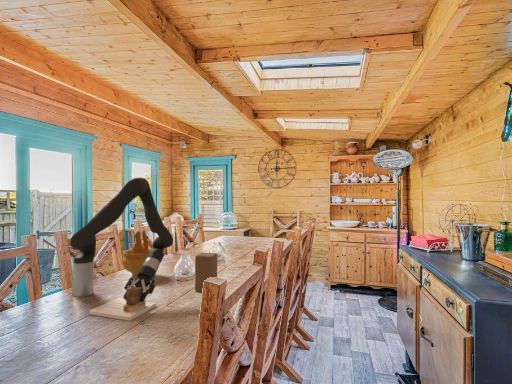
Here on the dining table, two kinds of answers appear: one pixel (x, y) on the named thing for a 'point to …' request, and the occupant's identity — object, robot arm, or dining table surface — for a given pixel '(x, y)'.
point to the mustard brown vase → (136, 255)
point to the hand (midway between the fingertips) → (132, 300)
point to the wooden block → (204, 268)
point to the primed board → (120, 310)
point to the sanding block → (133, 299)
